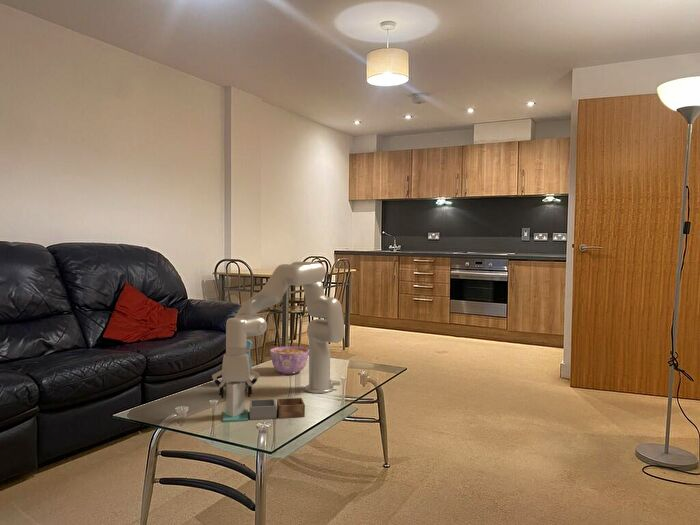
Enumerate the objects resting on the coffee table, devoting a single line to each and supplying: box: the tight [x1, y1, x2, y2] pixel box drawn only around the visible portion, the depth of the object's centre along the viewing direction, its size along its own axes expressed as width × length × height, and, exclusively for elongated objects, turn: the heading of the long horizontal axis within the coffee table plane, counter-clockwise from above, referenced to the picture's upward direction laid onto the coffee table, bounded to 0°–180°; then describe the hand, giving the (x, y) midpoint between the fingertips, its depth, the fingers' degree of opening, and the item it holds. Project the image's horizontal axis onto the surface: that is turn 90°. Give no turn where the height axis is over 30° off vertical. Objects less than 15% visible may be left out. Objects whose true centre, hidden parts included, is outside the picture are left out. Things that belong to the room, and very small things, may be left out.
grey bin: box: [248, 398, 277, 421], centre depth 196 cm, size 10×10×4 cm
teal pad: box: [222, 408, 249, 423], centre depth 194 cm, size 9×12×1 cm
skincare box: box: [225, 382, 246, 417], centre depth 194 cm, size 6×4×12 cm
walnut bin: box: [276, 397, 306, 419], centre depth 199 cm, size 10×10×4 cm
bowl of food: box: [269, 346, 309, 375], centre depth 265 cm, size 20×20×12 cm
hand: (235, 396), depth 194 cm, fingers open, 9 cm apart
